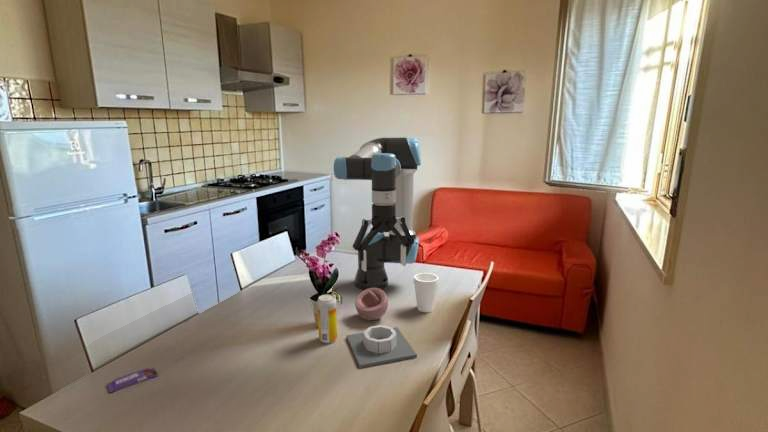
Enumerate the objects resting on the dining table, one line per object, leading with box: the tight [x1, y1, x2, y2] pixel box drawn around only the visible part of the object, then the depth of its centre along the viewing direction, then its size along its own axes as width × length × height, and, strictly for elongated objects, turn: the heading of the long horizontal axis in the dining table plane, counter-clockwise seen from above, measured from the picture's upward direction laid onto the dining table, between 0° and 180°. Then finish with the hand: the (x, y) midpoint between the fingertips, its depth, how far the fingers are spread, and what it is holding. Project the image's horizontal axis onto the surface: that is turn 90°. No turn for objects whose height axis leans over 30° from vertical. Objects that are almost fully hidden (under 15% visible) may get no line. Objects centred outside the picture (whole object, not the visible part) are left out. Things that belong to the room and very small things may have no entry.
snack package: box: [106, 367, 158, 393], centre depth 112 cm, size 12×2×5 cm
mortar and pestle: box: [354, 288, 389, 321], centre depth 147 cm, size 12×12×12 cm
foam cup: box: [413, 272, 440, 313], centre depth 154 cm, size 10×9×13 cm
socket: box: [346, 324, 418, 369], centre depth 128 cm, size 18×18×5 cm
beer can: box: [316, 293, 338, 344], centre depth 132 cm, size 6×6×15 cm
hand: (384, 267), depth 130 cm, fingers open, 13 cm apart
